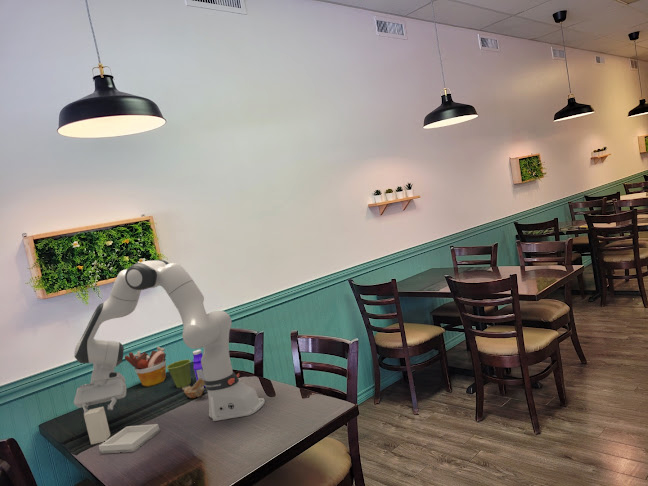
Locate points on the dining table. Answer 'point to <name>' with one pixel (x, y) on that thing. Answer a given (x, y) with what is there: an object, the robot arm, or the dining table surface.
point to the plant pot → (180, 373)
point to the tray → (129, 439)
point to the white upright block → (97, 425)
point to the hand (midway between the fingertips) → (98, 412)
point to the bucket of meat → (149, 366)
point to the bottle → (198, 365)
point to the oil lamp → (195, 389)
